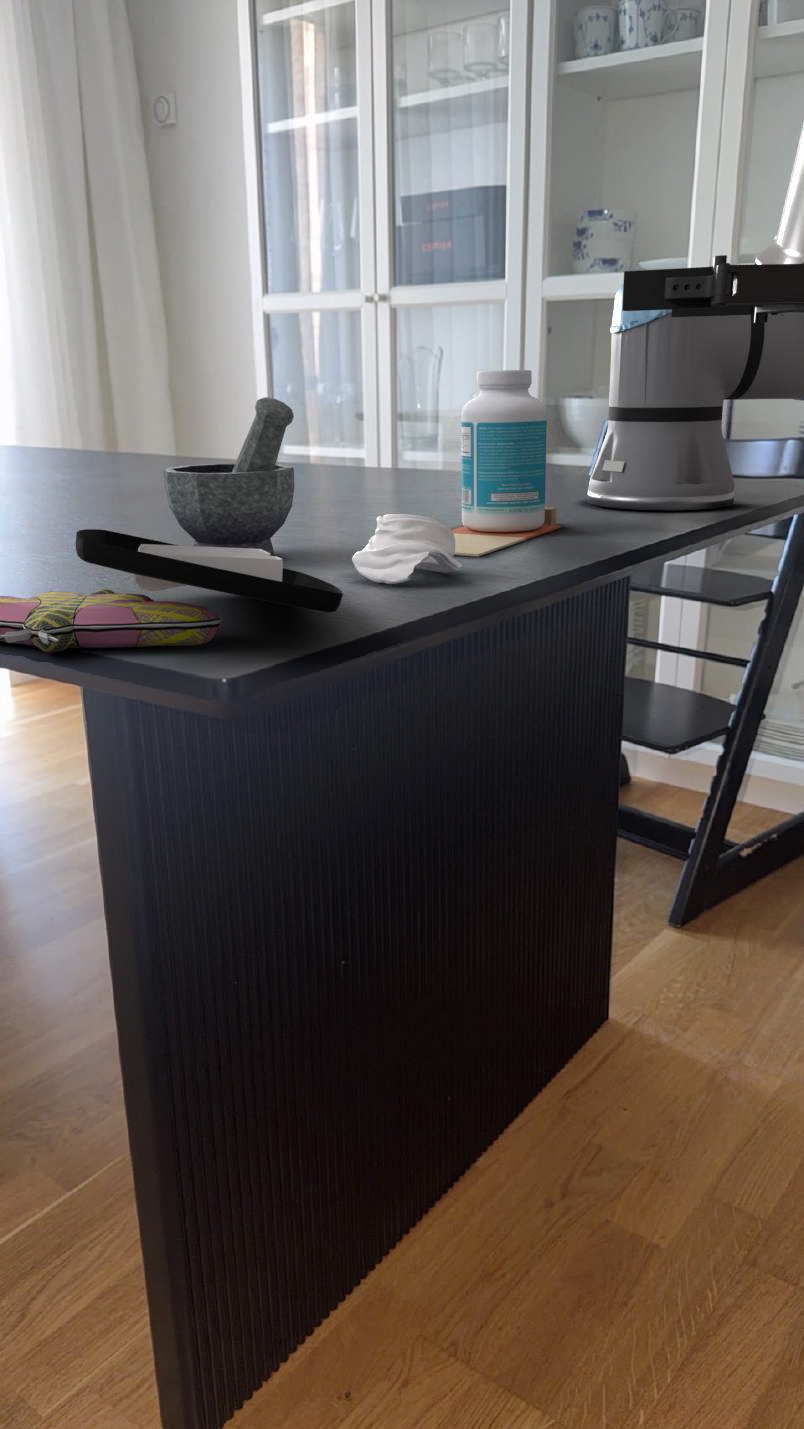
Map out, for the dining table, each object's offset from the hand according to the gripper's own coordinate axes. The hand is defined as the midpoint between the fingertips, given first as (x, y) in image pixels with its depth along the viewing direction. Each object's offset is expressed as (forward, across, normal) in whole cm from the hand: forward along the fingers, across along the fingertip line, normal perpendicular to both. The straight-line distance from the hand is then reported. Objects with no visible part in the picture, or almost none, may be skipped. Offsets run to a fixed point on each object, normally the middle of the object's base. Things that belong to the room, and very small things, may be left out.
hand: (650, 296), depth 84 cm
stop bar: (+12, +5, -19) cm, 23 cm away
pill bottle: (+12, 0, -19) cm, 23 cm away
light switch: (+17, -47, -14) cm, 52 cm away
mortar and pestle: (+24, -23, -19) cm, 39 cm away
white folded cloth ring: (+9, -24, -19) cm, 32 cm away
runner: (+12, -5, -19) cm, 23 cm away
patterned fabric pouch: (+17, -44, -18) cm, 50 cm away
